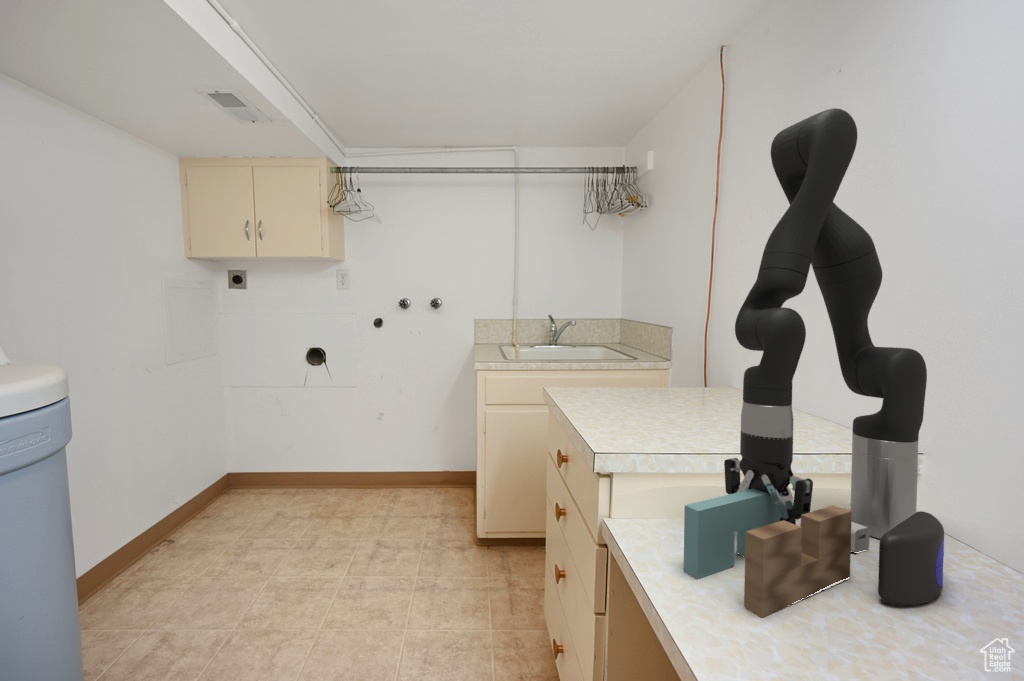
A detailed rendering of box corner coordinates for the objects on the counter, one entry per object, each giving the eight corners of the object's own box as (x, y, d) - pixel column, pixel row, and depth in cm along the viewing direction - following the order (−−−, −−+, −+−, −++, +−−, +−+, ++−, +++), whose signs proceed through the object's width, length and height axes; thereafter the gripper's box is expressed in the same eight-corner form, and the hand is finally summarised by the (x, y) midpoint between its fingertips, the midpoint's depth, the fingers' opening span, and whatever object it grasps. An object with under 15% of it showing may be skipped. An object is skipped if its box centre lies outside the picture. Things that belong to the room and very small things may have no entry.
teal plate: (683, 571, 69) (684, 505, 69) (768, 543, 78) (769, 485, 78) (697, 579, 67) (698, 511, 66) (782, 549, 76) (783, 489, 76)
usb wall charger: (854, 555, 74) (854, 530, 74) (811, 537, 81) (811, 514, 81) (869, 550, 76) (869, 526, 76) (825, 533, 82) (826, 511, 82)
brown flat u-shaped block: (831, 571, 69) (833, 505, 69) (849, 579, 67) (851, 511, 67) (744, 607, 60) (745, 531, 60) (762, 618, 58) (763, 539, 58)
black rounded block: (919, 621, 58) (921, 546, 57) (875, 603, 61) (876, 533, 61) (956, 581, 67) (958, 517, 66) (915, 567, 70) (917, 506, 70)
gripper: (826, 437, 70) (823, 544, 71) (741, 420, 83) (739, 511, 84) (796, 442, 67) (794, 555, 67) (713, 424, 80) (711, 519, 80)
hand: (764, 530), depth 76 cm, fingers open, 6 cm apart
